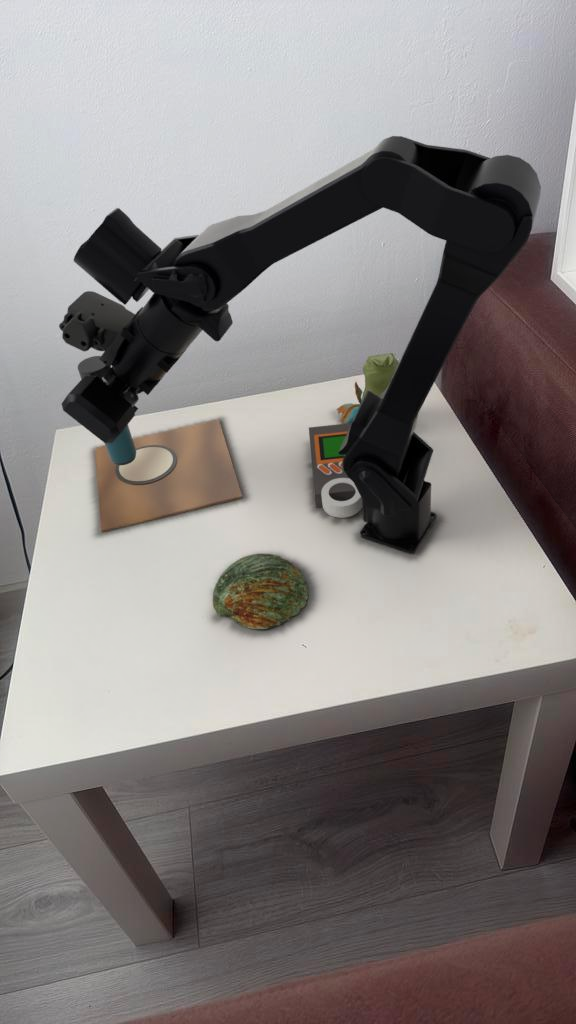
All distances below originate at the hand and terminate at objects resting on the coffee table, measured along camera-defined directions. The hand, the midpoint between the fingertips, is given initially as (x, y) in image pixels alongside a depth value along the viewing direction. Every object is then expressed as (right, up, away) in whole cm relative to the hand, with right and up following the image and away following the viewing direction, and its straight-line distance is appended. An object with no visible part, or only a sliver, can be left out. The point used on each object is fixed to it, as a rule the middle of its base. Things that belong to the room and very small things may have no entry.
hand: (99, 411), depth 84 cm
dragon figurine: (+32, +3, +12) cm, 34 cm away
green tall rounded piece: (+34, 0, +12) cm, 36 cm away
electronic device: (+28, -7, +5) cm, 29 cm away
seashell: (+19, -20, -8) cm, 29 cm away
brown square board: (+6, -6, +9) cm, 13 cm away
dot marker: (+2, -5, +4) cm, 7 cm away
